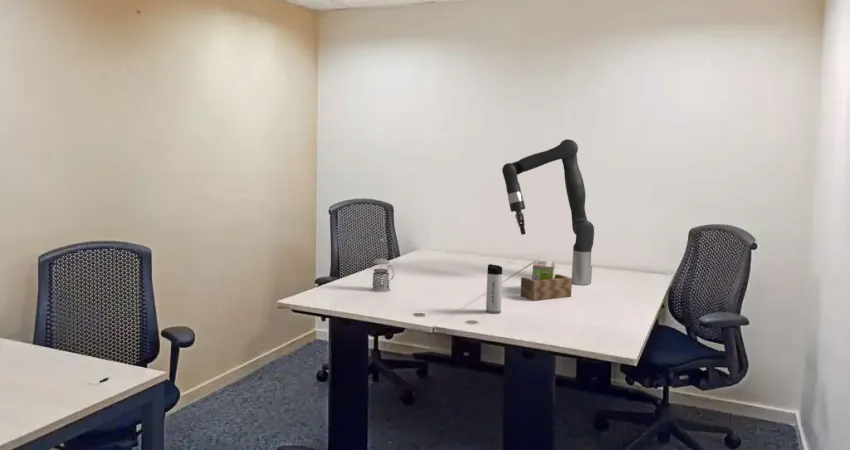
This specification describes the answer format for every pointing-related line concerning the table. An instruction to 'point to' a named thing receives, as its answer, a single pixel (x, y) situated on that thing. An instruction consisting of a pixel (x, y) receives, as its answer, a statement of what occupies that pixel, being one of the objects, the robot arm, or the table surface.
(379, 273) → the french press
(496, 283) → the travel mug
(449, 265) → the table surface
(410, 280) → the table surface
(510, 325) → the table surface
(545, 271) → the tea box
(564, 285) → the display nook
